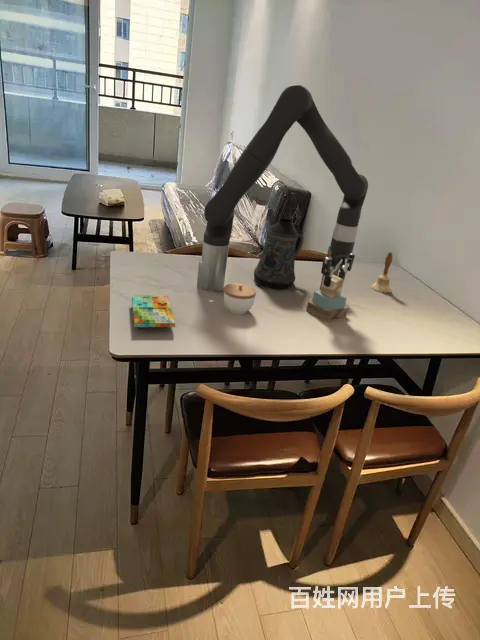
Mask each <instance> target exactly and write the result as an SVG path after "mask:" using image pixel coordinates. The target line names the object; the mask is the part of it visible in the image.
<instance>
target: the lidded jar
mask: <svg viewBox="0 0 480 640" xmlns="http://www.w3.org/2000/svg"><path fill="white" fill-rule="evenodd" d="M256 295H257V291H256V289H255V287H252V286H250V285H248V284H244V283H233V282H232V283H229V284H226V285H224V289H223V303H224V305H225V308H226V309H227V310H228V312H230V313H232V314H235V315H244V314H246V313H247V312H248V311H249V310H250V309H251V308H252V306H253V305H254V302H255V299H256Z"/></svg>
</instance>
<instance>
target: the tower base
mask: <svg viewBox="0 0 480 640" xmlns="http://www.w3.org/2000/svg"><path fill="white" fill-rule="evenodd" d="M348 309H349V307H347V306H346V305H345V307H344V309H337V310H330V311H325V310H324V309H322V308H321V307H319V306H318V305H317V304H315V303H314V302H312V300H310V301H307V304H306V312H309V313H310V314H312V315H314V316H316V317H317V318H319V319H321V320H323V321H325V322H327V323H330V322H332V321H336V320H339V319H342V318H345V317H347V314H348Z"/></svg>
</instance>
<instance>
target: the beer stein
mask: <svg viewBox="0 0 480 640" xmlns="http://www.w3.org/2000/svg"><path fill="white" fill-rule="evenodd" d="M300 228H301V226H300V225H299V224H298V223H296V222H293V221H292V219H289V218H279V220H278V221H277V222H276V223H273V224H272V225H270V226H269V227H268V228H266V236H267V237H266V240H265V243H264V247H263V249H262V253H261V255H260V258H259V261H258V263H257V265H256V266H255V268H254V270H253V276H254V278H253V279H254V283H256V284H257V285H258V286H261V287H263V288H264V289H265V288H266V289H271V290H275V291H276V290H278V291H280V290H284V291H285V290H289V289H291V288H292V287H293V285H294V283H295V281H296V274H295V261H296V258H297V256H298V255H299V253H300V251H301V249H302V247H303V244H304V235H303V234H304V233H303V232H302V230H300Z"/></svg>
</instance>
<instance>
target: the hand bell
mask: <svg viewBox="0 0 480 640" xmlns="http://www.w3.org/2000/svg"><path fill="white" fill-rule="evenodd" d="M392 262H393V252H391V251H389V252H388V253H387V255H386V257H385V261H384V269H383V273H382V274H380V275H379V276H378V278H377V280H376V281H375V283H373V284H372V285H371V286H370V288H371V290H374V291H375V292H379V293H382V292H384V293H383V294H388V293H387V292H390V291H391V292H392V289H391V287H390V277H389V276H388V273H389V268H390V266H391V264H392ZM391 292H390V293H391Z"/></svg>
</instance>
